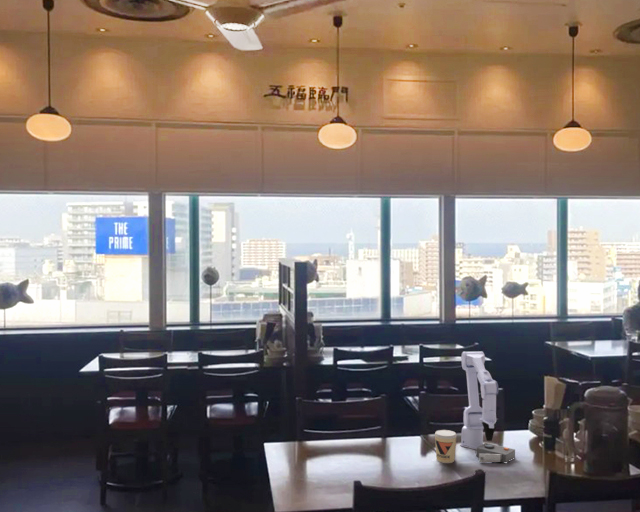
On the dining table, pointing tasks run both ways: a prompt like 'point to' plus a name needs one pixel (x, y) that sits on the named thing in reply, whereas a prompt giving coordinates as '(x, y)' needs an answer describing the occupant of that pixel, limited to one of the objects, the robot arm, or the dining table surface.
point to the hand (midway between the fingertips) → (488, 440)
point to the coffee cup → (445, 445)
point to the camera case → (496, 451)
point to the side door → (490, 457)
